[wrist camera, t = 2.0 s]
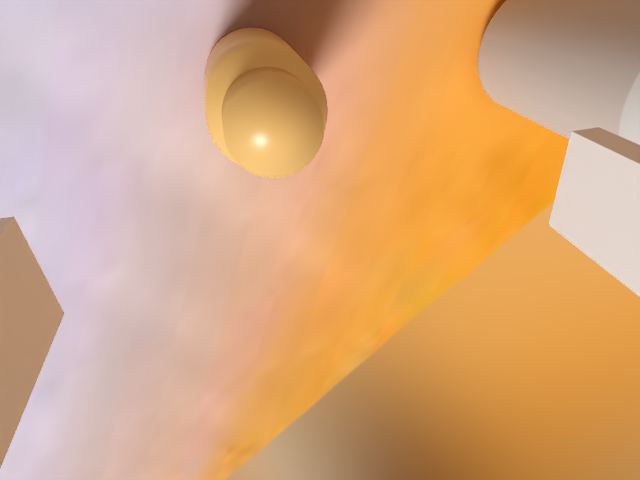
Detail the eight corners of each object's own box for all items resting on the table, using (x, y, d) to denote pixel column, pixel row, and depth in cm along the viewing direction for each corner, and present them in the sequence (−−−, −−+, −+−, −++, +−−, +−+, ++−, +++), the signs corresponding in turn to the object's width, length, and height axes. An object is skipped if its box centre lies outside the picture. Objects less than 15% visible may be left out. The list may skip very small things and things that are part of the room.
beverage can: (448, 76, 25) (612, 158, 15) (521, -48, 22) (779, -49, 12) (527, 120, 27) (712, 216, 17) (600, 14, 25) (866, 55, 15)
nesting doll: (215, 132, 23) (220, 201, 17) (195, 32, 21) (191, 69, 14) (305, 119, 24) (342, 181, 18) (296, 22, 21) (336, 51, 15)
